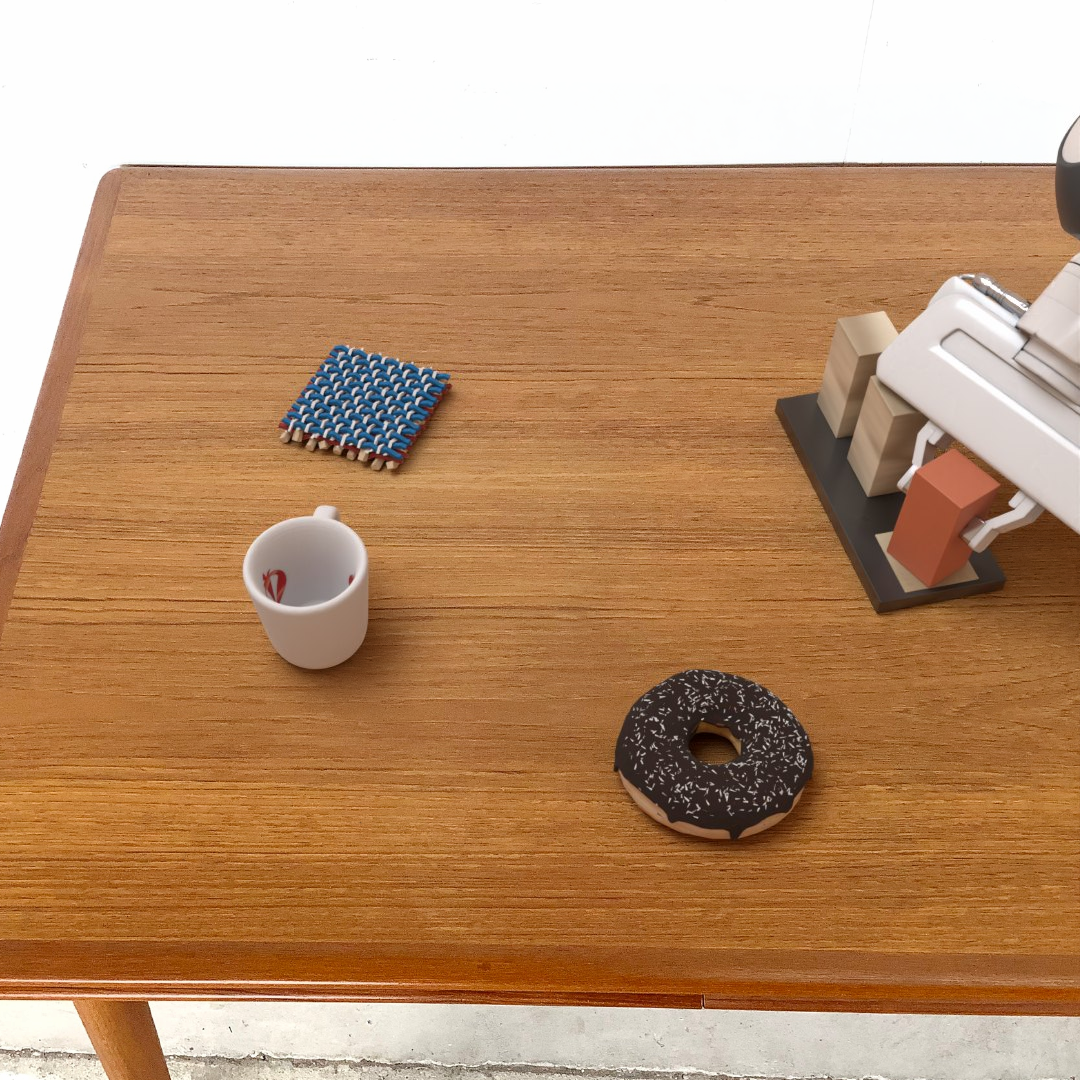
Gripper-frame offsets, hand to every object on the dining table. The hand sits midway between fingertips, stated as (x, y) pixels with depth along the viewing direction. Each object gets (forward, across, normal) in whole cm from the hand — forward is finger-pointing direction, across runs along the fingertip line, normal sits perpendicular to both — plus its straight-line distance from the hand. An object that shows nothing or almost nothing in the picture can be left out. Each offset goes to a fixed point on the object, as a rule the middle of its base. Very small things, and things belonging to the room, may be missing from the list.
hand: (937, 519), depth 85 cm
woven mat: (+20, -36, -12) cm, 43 cm away
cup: (+29, -20, -21) cm, 41 cm away
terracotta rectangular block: (+3, 0, +3) cm, 4 cm away
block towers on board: (+2, -7, +6) cm, 9 cm away
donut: (+19, +4, -11) cm, 23 cm away
